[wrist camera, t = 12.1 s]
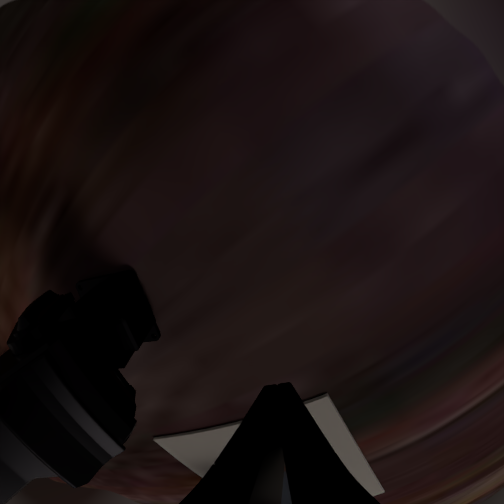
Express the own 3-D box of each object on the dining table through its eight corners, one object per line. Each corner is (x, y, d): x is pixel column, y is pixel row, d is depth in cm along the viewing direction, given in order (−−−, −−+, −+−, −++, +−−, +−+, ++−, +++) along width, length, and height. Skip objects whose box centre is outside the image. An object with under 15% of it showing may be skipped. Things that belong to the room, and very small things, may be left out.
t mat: (154, 437, 29) (153, 439, 29) (327, 393, 25) (328, 396, 24) (272, 517, 38) (272, 519, 38) (384, 490, 34) (384, 492, 33)
